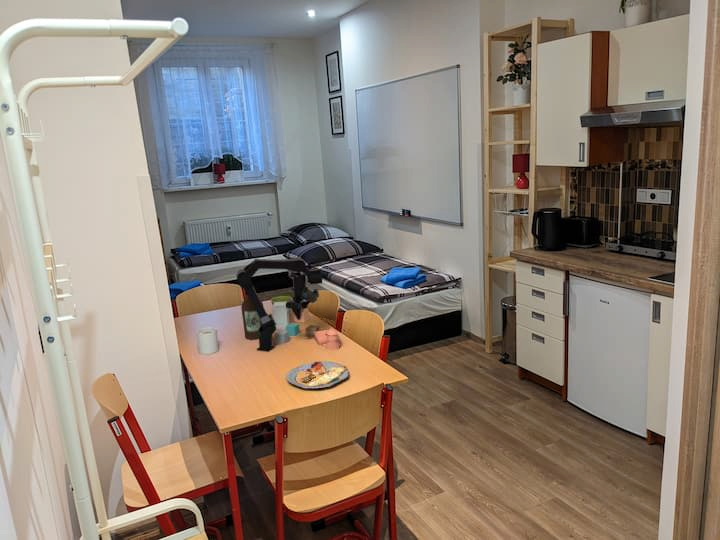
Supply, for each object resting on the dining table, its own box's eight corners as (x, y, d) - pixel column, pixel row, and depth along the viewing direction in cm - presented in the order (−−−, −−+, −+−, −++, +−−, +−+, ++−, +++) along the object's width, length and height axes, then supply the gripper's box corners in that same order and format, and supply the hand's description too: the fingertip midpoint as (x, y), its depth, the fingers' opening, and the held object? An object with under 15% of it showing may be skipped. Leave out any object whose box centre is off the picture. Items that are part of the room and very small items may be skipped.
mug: (213, 355, 250) (211, 334, 247) (194, 354, 252) (191, 333, 249) (223, 346, 260) (221, 326, 258) (205, 345, 262) (203, 325, 260)
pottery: (314, 340, 265) (313, 320, 263) (333, 337, 268) (332, 317, 266) (324, 352, 249) (323, 331, 246) (344, 349, 252) (343, 329, 249)
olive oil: (244, 334, 277) (240, 285, 271) (265, 332, 278) (262, 284, 272) (243, 341, 266) (238, 291, 261) (265, 339, 268) (261, 289, 262)
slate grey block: (284, 344, 260) (283, 334, 259) (275, 343, 262) (274, 333, 261) (289, 341, 265) (288, 331, 264) (280, 340, 267) (279, 330, 265)
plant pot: (270, 317, 302) (268, 297, 300) (291, 314, 306) (290, 295, 303) (273, 323, 291) (272, 303, 289) (295, 321, 295) (294, 300, 292)
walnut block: (315, 339, 266) (315, 329, 265) (306, 338, 268) (305, 328, 267) (319, 335, 271) (319, 325, 270) (310, 334, 273) (310, 325, 272)
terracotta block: (304, 322, 254) (303, 311, 253) (294, 321, 255) (293, 310, 254) (308, 318, 258) (308, 308, 257) (299, 318, 260) (298, 307, 259)
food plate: (318, 361, 238) (318, 353, 237) (360, 374, 224) (360, 366, 223) (275, 382, 220) (274, 374, 219) (317, 398, 205) (317, 390, 204)
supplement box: (288, 329, 282) (286, 305, 279) (273, 329, 282) (271, 305, 279) (290, 324, 289) (288, 301, 286) (276, 324, 289) (274, 301, 286)
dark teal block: (295, 336, 270) (294, 327, 269) (286, 335, 272) (285, 326, 271) (299, 333, 275) (299, 324, 274) (290, 332, 277) (290, 323, 275)
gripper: (306, 291, 242) (308, 325, 245) (324, 281, 259) (325, 313, 262) (284, 290, 246) (286, 323, 249) (302, 280, 263) (304, 311, 266)
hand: (301, 317), depth 257 cm, fingers closed on terracotta block, 5 cm apart
